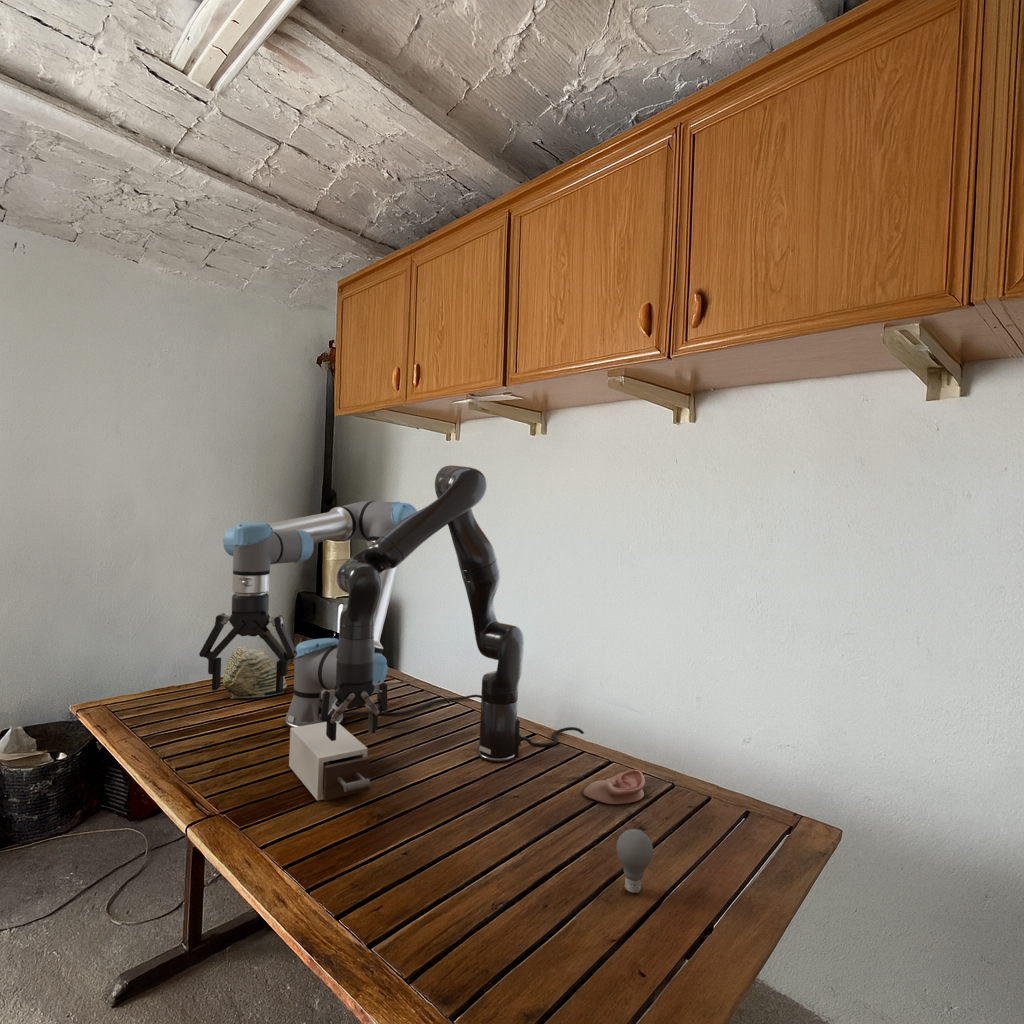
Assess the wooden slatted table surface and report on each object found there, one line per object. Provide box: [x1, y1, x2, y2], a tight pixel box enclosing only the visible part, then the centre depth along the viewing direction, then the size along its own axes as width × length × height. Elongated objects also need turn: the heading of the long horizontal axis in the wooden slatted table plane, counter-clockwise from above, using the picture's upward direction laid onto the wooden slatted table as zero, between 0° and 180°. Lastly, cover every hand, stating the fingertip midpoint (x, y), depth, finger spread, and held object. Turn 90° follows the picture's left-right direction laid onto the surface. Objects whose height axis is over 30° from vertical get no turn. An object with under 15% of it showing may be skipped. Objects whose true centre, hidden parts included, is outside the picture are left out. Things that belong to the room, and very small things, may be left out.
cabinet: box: [288, 721, 369, 802], centre depth 143 cm, size 20×11×9 cm, turn 36°
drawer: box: [323, 755, 371, 802], centre depth 138 cm, size 24×10×7 cm, turn 36°
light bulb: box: [615, 828, 654, 894], centre depth 106 cm, size 6×6×10 cm
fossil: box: [222, 646, 288, 699], centre depth 198 cm, size 9×18×15 cm, turn 132°
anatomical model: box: [582, 769, 646, 805], centre depth 141 cm, size 13×4×12 cm
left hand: (247, 689), depth 139 cm, fingers open, 13 cm apart
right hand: (352, 735), depth 131 cm, fingers open, 8 cm apart
